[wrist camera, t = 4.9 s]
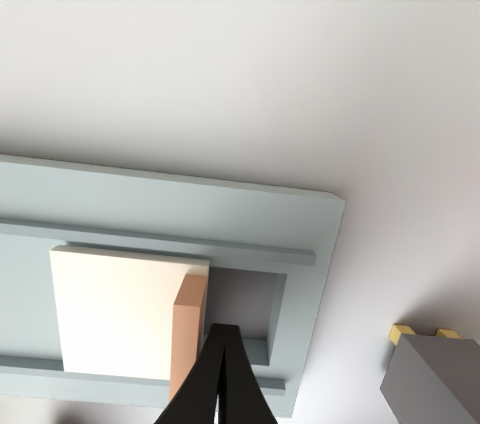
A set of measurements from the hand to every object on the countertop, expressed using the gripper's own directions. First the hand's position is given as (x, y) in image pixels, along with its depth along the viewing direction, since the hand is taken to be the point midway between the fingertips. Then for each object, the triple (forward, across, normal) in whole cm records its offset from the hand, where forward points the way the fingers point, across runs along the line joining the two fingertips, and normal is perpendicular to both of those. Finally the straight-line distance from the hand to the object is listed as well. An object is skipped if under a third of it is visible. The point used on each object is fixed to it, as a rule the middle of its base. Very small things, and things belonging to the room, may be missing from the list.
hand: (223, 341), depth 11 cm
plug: (+3, -13, +3) cm, 14 cm away
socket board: (+3, +4, 0) cm, 5 cm away
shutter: (+1, +5, 0) cm, 5 cm away
